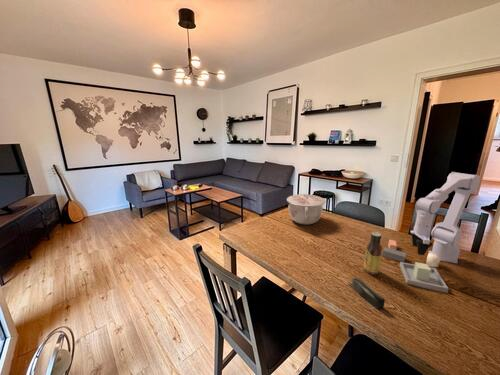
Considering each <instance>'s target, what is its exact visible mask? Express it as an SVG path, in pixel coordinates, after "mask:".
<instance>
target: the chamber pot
mask: <svg viewBox="0 0 500 375" xmlns="http://www.w3.org/2000/svg"><path fill="white" fill-rule="evenodd" d="M286 202H288V208H287V209H288V213H289V216H290V218H291V219H292V220H293V222H295V223H297V224H299V225H313V224H315V223H317V222H318V221H319V220H320V219H321V217H322V215H323V209H324V208H323V205H325V203H326V200H325V199H324V197H321V196H318V195H314V194H309V193H308V194H304V193H303V194H301V193H299V194H294V195H289V196H288V197H286Z"/></svg>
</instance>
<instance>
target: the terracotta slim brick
mask: <svg viewBox="0 0 500 375" xmlns="http://www.w3.org/2000/svg"><path fill="white" fill-rule="evenodd" d="M387 246H388V248H390V249H394V250H397V248H398V244H397V241H396V240H393V239H388V244H387Z"/></svg>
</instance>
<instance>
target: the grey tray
mask: <svg viewBox="0 0 500 375" xmlns="http://www.w3.org/2000/svg"><path fill="white" fill-rule="evenodd" d="M414 267H415V264H413V263H408V262H404V263H403V262H399V268H400V270H401V273H402V276H403V278H404V280H405V283H406V285H410V286H414V287H417V288H423V289H426V290H427V289H428V290H431V291H436V292H442V293H446V294H448V292H449V287H448V286H447V284H446V282H445V280H444V279H443V277H442V276H441V275H440V273H439V271H438V270H437V269H436V267H431V266H429V268H430V269H431V273H430V277H429V281H425V280H420V279H416V277H415V275H414V273H413V272H414Z"/></svg>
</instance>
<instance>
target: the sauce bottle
mask: <svg viewBox="0 0 500 375" xmlns="http://www.w3.org/2000/svg"><path fill="white" fill-rule="evenodd" d="M381 239H382V234H381V233H380V232H377V231H373V232H371V234H370V240H369V243H368V244H367V245H366V248H365V256H364V263H363V271H365V273H367V274H369V275H373V276H374V275H375V276H377V274H379V272H380V267H381V266H380V265H381V261H382V255H383V247H382V245H381Z"/></svg>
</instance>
